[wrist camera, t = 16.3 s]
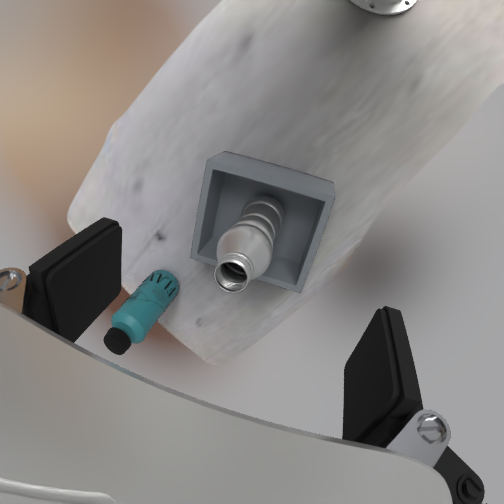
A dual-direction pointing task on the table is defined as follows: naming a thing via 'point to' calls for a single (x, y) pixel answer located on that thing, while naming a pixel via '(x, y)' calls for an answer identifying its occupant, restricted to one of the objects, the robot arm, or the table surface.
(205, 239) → the bin
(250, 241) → the silver aluminium bottle
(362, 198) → the table surface
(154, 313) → the beverage bottle
